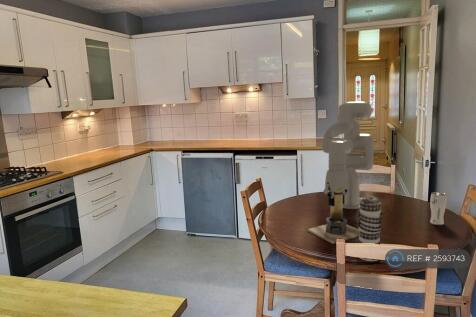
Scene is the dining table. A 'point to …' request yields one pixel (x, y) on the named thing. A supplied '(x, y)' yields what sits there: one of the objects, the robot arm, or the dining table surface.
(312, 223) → the dining table surface
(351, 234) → the board
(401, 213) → the dining table surface
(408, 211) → the dining table surface
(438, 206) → the beer glass
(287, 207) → the dining table surface
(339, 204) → the gold cylinder
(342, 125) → the robot arm
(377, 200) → the decorative candle
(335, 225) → the ring
